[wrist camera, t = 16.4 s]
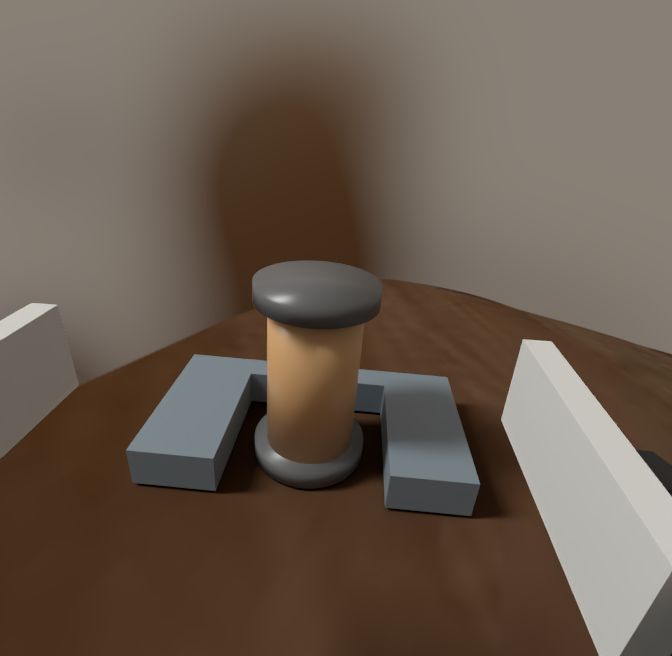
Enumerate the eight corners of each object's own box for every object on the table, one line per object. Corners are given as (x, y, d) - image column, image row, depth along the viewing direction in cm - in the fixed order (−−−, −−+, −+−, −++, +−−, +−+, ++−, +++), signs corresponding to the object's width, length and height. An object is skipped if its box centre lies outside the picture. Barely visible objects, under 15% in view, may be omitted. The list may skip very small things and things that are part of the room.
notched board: (441, 403, 35) (447, 377, 34) (471, 516, 25) (480, 484, 24) (196, 380, 36) (194, 354, 34) (132, 482, 26) (125, 450, 25)
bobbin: (361, 419, 33) (380, 266, 27) (361, 494, 26) (385, 313, 21) (266, 410, 33) (267, 256, 27) (242, 482, 26) (237, 299, 21)
